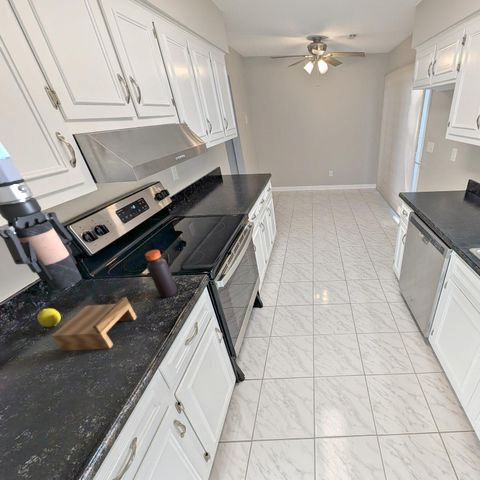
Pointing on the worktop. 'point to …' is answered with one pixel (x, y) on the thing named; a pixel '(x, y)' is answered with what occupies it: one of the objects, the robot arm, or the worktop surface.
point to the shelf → (93, 326)
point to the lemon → (49, 317)
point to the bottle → (160, 274)
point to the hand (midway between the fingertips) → (60, 271)
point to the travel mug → (51, 254)
